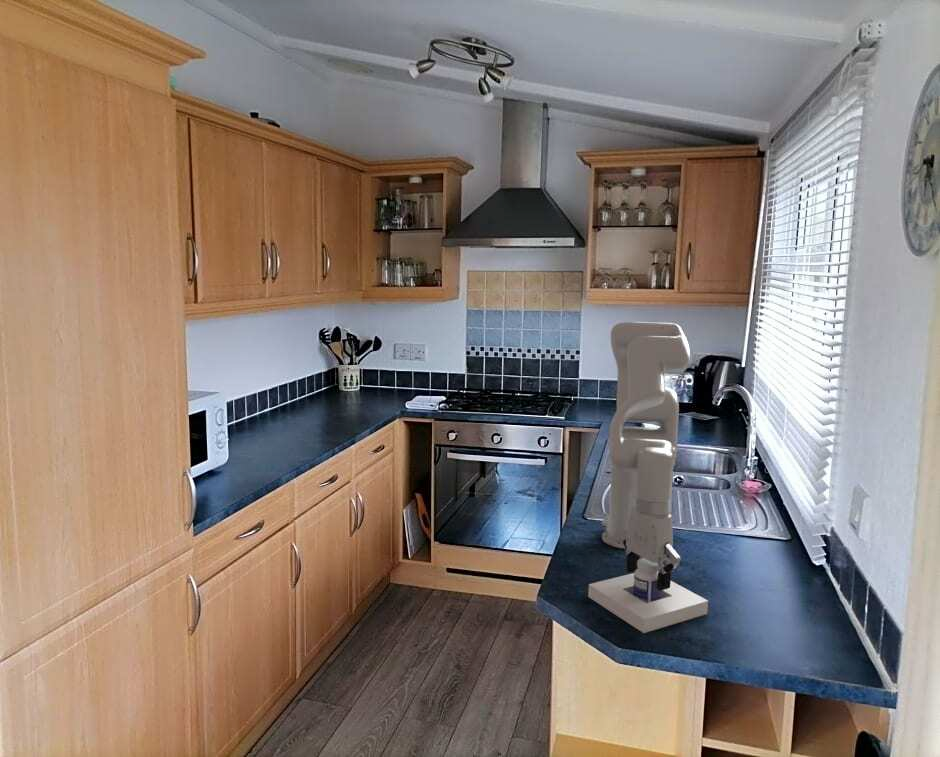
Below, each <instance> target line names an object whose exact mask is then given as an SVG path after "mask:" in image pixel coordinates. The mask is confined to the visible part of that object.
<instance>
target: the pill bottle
mask: <svg viewBox="0 0 940 757" xmlns="http://www.w3.org/2000/svg"><path fill="white" fill-rule="evenodd" d="M637 567H638V569H636V571H634V572H633V573H634V590H633V596H635V597H637V598H638V599H640V600H642V601H643V602H645V603H649V602H652V601H656V600H660V591H659V590H658V589H657V581H658V572H660V569H659V567H658V564H657V563H653V562H650V561H648V560H646V559H644V558H643V557H640V559H639V560H638V561H637Z"/></svg>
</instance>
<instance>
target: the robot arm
mask: <svg viewBox="0 0 940 757" xmlns="http://www.w3.org/2000/svg"><path fill="white" fill-rule="evenodd" d="M685 335H686V334H685V333H684V332H683V330H682V327H681V326H680V325H678V324H676V323H671V322H651V321H649V322H646V321H645V322H644V321H627V322H626V321H625V322H619V323H617V324H615V325H613V326H612V329H611V331H610V346H611V349H612V354H613V356H614V359H615V362H616V367H617V382H616V383H617V386H616V411H615V413H614V414H613V417H612V420H611V421H610V427H609V440H608V444H609V456H610V459H609V460H610V486H609V487H610V489H609V505H608V506H609V508H608V515H607V516H606V517H605V518H604V519H602V521H601V524H602V525H603V526H605V529H606V530H605V531H604V532H602V535H601V538H602V541H603V542H604V543H605V544H607V545H608V546H611V547H615V548H619V549H624V552H625V554H626V555H627V556H626V570H625V571H626V572H627V573H629V574H631V573H634V572H635V571H636V569H638V567H637V561H638V560H639V559H641V558H644V559H646V560H648V561H650V562H653V563H657V564H658V567H659V569H658V570H659V572H658V581H657V589H658V590H659V591H661V590H665V589H668V588H670V581H672V580H671V578H672V572H673V573H674V571H675V570H677V569H678V567H679V565H680V563H681V561H682V558H681V556H680V555H679V553H678V552H677V551H676V550H675V549H674V546H673V542H674V534H673V533H674V532H673V529H674V528H673V520H672V518H673V517H672V515H671V506H672V505H671V502H672V489H673V487H672V486H673V473H674V472H673V471H674V466H675V463H676V460H677V459H676V456H677V451H678V434H679V412H680V407H679V406H680V404H679V398H678V395H677V392H676V391H675V390H674V389H672V388H670V387H666V382H665V381H666V380H665V372H669V373H682V372H685V371H686V370H687V369H688V367H689V365H690V360H691V359H690V358H691V354H690V353H691V352H690V345H689V343H688V340H687V337H686V336H685ZM625 422H627V423H628V422H630V423H645V424H649V423H650V424H658V425H659V427H644V426H624V424H625ZM663 562H664V563H665V565H664V563H663Z"/></svg>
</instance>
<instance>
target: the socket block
mask: <svg viewBox="0 0 940 757" xmlns="http://www.w3.org/2000/svg"><path fill="white" fill-rule="evenodd" d="M634 573H635V572H631V573H629V574H625V575H620V576H617V577H613V578H609V579H604V580H600V581H596V582H593V583H589V584H588V593H587V594H588V596H587V597H588V598H589V599H591V600H592V601H594V602H596V603H597V604H598V605H600V606H602V607H603V608H605V609H606V610H608V611H609V612H611V613H612V614H614V615H616V616H617V617H618V618H620V619H622V620H623V621H625V622H626V623H628V624H629V625H630V626H632V627H633V628H635V629H637V630H638V631H640V632H641V633H643V634H645V633H649V632H653V631H655V630H659V629H662V628H667V627H668V626H672V625H676V624H678V623H682V622H685V621H689V620H692V619H696V618H699V617H702V616H705V615H708V608H709V607H708V606H709V600H708V599H705V598H704V597H702V596H700V595H698V594H697V593H694V592H693V591H691V590H689V589H687V588H685V587H684V586H682V585H679V584H678V583H676V582H674V581H673V580H671V581H670V588H668V589H665V590H661V591H660V600H656V601H652V602H649V603H645V602H643V601H642V600H640V599H638V598H637V597H635V596H633V590H634Z"/></svg>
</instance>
